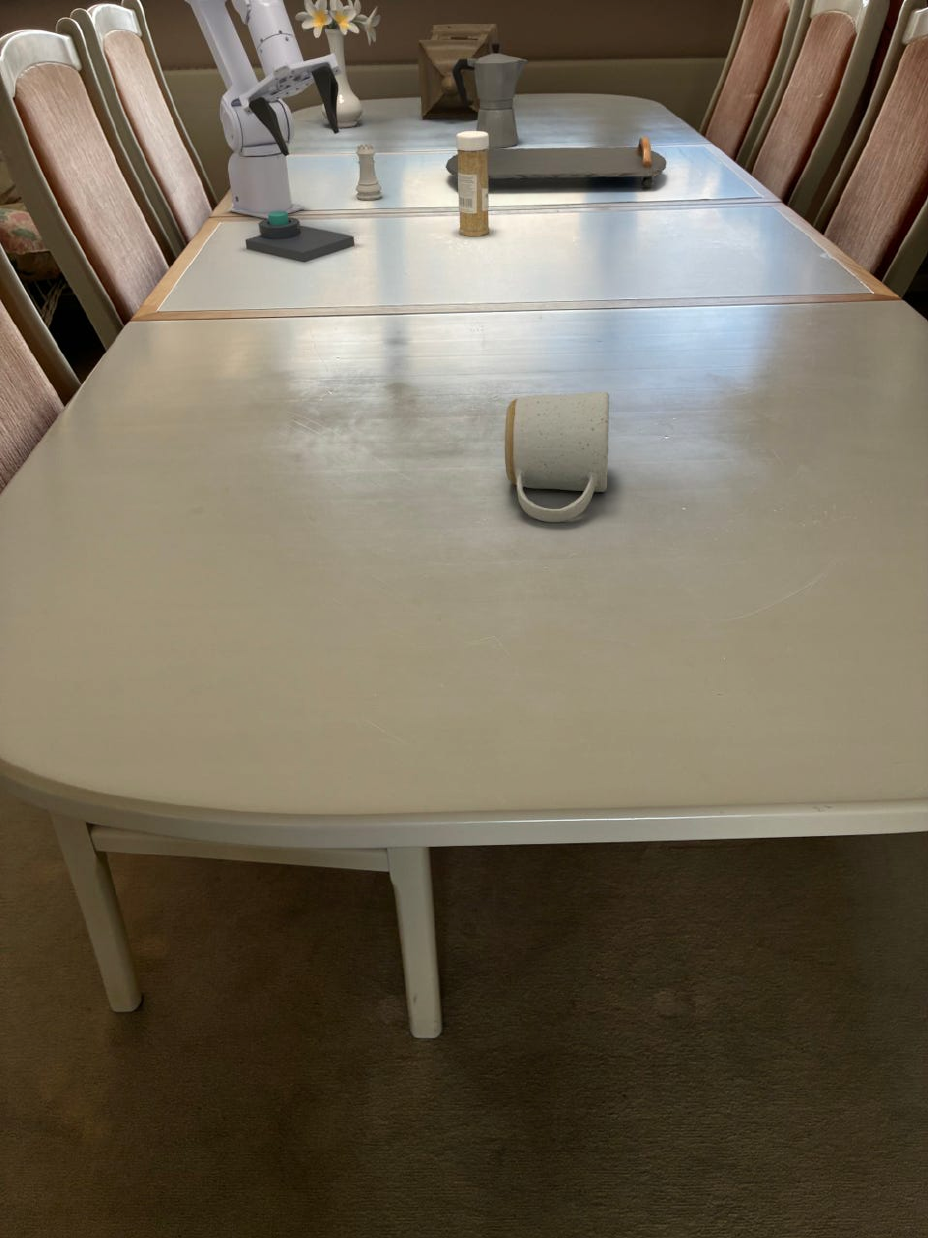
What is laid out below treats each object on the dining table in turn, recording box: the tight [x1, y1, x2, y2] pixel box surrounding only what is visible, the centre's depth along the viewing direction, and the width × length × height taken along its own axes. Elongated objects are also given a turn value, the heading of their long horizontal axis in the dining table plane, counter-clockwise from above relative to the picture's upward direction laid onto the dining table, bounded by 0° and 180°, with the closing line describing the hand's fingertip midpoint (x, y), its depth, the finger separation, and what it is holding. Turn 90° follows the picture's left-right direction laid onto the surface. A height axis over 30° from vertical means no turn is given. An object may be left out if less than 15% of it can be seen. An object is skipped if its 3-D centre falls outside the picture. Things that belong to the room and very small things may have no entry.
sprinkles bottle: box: [455, 130, 490, 237], centre depth 138 cm, size 5×5×13 cm
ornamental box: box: [417, 23, 498, 119], centre depth 225 cm, size 35×18×18 cm, turn 173°
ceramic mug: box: [504, 391, 610, 523], centre depth 75 cm, size 11×8×8 cm
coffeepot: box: [452, 42, 529, 149], centre depth 192 cm, size 15×9×18 cm, turn 103°
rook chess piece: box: [355, 143, 383, 201], centre depth 159 cm, size 4×4×8 cm
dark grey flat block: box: [245, 216, 356, 263], centre depth 137 cm, size 13×10×3 cm
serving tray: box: [445, 136, 668, 190], centre depth 169 cm, size 39×23×6 cm, turn 86°
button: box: [268, 211, 289, 225], centre depth 138 cm, size 3×3×2 cm
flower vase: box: [294, 0, 381, 129], centre depth 213 cm, size 13×18×25 cm
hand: (309, 141), depth 133 cm, fingers open, 7 cm apart
